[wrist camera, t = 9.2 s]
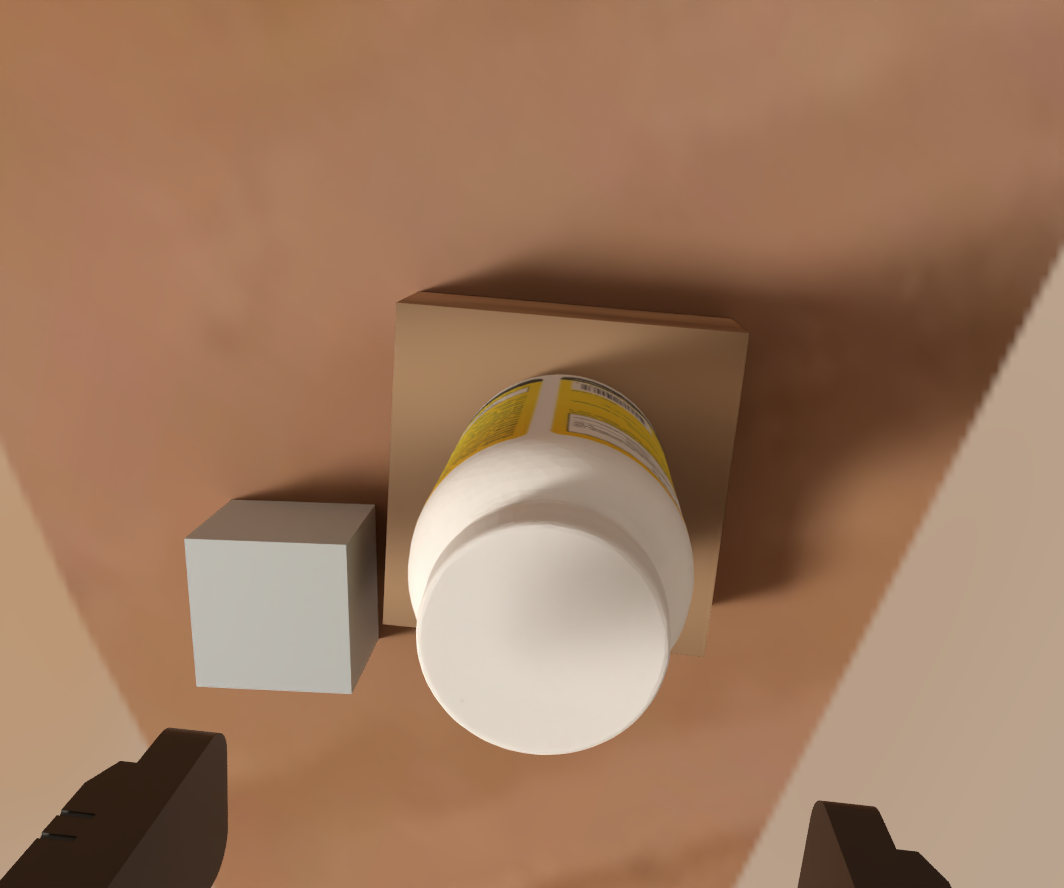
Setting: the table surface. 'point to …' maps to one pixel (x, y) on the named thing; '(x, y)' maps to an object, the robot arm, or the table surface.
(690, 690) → the table surface
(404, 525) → the walnut block
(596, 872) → the table surface
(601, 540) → the pill bottle
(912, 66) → the table surface
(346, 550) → the slate block
